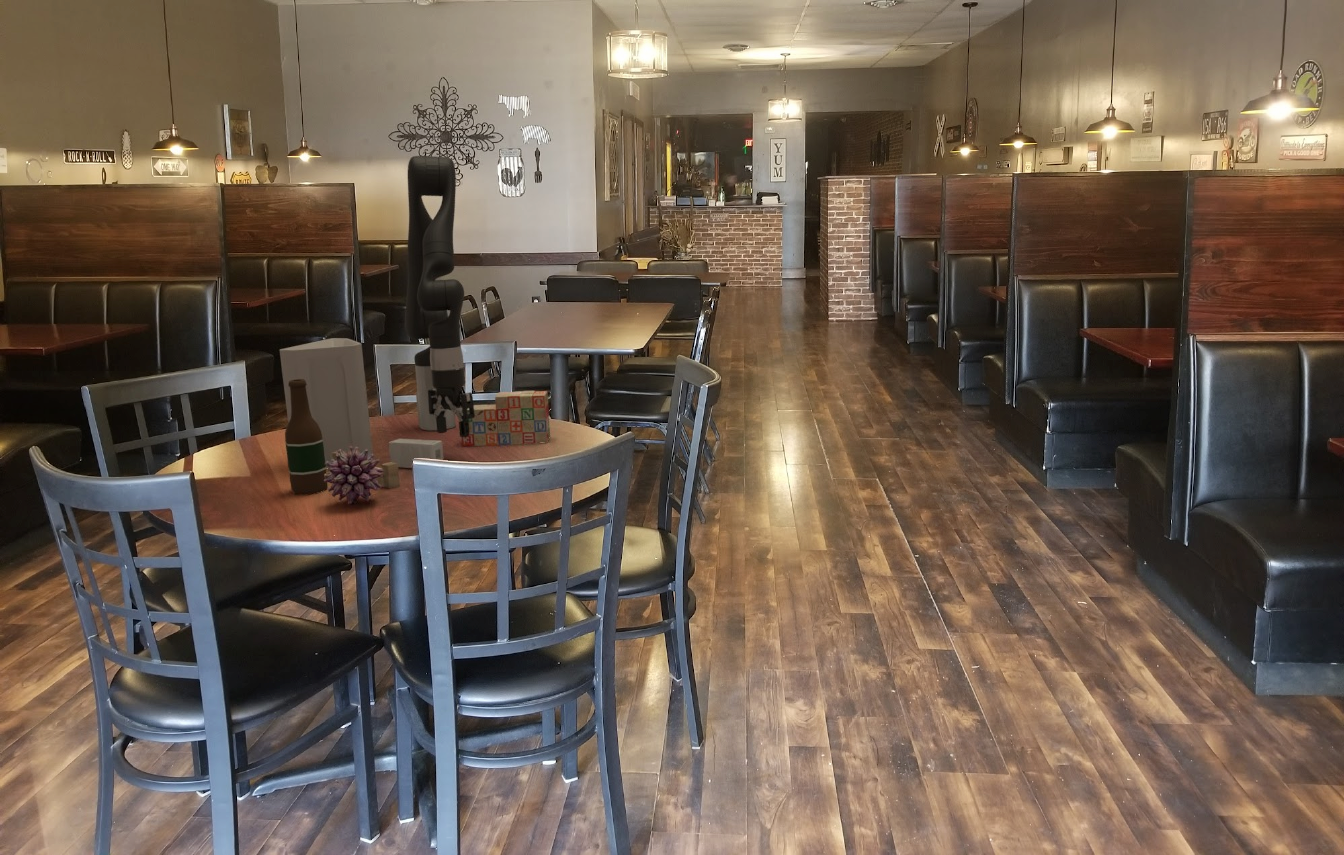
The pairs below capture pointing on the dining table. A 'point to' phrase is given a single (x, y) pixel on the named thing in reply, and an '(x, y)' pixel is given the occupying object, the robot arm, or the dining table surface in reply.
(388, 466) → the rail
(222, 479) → the dining table surface
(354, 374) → the paper bag
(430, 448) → the skincare box
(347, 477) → the flower
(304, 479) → the beer bottle
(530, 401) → the stack of blocks
